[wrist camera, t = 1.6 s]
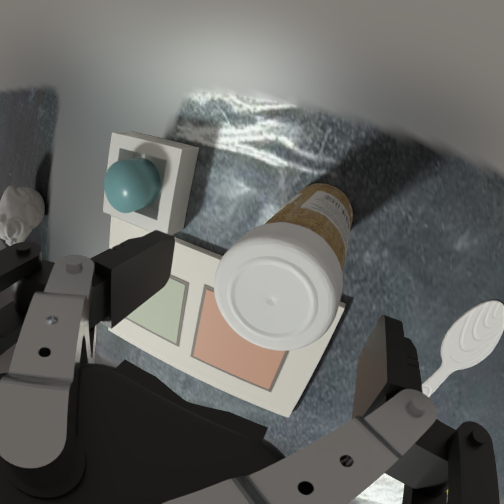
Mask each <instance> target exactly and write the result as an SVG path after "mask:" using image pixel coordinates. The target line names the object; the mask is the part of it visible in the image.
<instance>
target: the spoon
mask: <svg viewBox="0 0 504 504" xmlns="http://www.w3.org/2000/svg"><path fill="white" fill-rule="evenodd" d="M503 330H504V305H503V304H502V303H501V302H500V301H497V300H490V301H486V302H482V303H481V304H479V305H476V306H475V307H473V308H471V309H470V310H468V312H466V313H465V314H463V315H462V316H461V317H460V318H459V319H458V320H457V321H456V322H455V323H454V324H453V325H452V326H451V328H450V329H449V330H448V331H447V333H446V335H445V338H444V339H443V342H442V345H441V358H442V365H441V366H440V368H439V369H438V370H437V371H436V372H435V373H434V374H433V375H432V376H431V377H430V378H429V379H428V380H426V381H425V382H424V383H423V384H422V391H423V394H425V395H426V396H428V397H430V395H431V394H432V393H433V392H434V391H436V389H437V388H438V387H439V385H440V384H441V383H442V382H443V381H445V380H446V378H447V377H448V376H449V375H450V373H452V372H454V371H457V370H462V369H465V368H470V367H472V366H474V365H476V364H478V363H479V362H481V361H482V360H484V359H485V357H487V356H488V355H489V354H490V353H491V352H492V351H493V348H495V346H496V345H497V342H498V341H499V340H500V337H501V335H502V333H503Z"/></svg>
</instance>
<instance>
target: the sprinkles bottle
mask: <svg viewBox="0 0 504 504" xmlns="http://www.w3.org/2000/svg"><path fill="white" fill-rule="evenodd" d="M352 221H353V210H352V207H351V204H350V202H349V200H348V198H347V196H346V195H345V194H344V193H343V192H342V191H341V190H339V189H338V188H336V187H334V186H331V185H329V184H322V183H316V184H312V185H310V186H307V187H305V188H304V189H303V190H301V191H300V192H299V193H298V194H297V195H296V196H295V197H294V198H292V199H291V200H290V201H288V202H287V203H286V204H285V205H284V206H283V207H282V208H281V209H280V210H279V211H278V212H277V213H276V214H275V215H274V216H273V217H272V218H271V219H269V220H268V221H267V222H266V223H265V224H264V225H261V226H258V227H256V228H254V229H252V230H251V231H249V232H248V233H246V234H245V235H244V236H243V237H241V238H240V239H239V240H238V241H237V242H236V243H235V244H234V245H233V246H232V247H231V248H230V249H229V250H228V251H227V252H226V253H225V254H224V255H223V257H222V259H221V260H220V262H219V264H218V267H217V270H216V273H215V279H214V293H215V298H216V302H217V305H218V308H219V310H220V312H221V314H222V316H223V317H224V319H225V320H226V322H227V323H228V324H229V326H230V327H231V328H232V329H233V330H234V331H235V332H236V333H237V334H239V335H240V336H241V337H243V338H244V339H246V340H247V341H249V342H251V343H253V344H255V345H258V346H260V347H263V348H267V349H271V350H278V351H289V350H295V349H300V348H303V347H306V346H308V345H310V344H312V343H314V342H315V341H317V340H318V339H320V338H321V337H322V336H323V335H324V334H325V333H326V332H327V331H328V329H329V328H330V326H331V325H332V323H333V321H334V319H335V317H336V314H337V311H338V307H339V303H340V299H341V294H342V288H343V275H342V269H343V267H344V264H345V259H346V254H347V248H348V242H349V235H350V228H351V225H352Z"/></svg>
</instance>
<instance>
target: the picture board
mask: <svg viewBox="0 0 504 504" xmlns="http://www.w3.org/2000/svg"><path fill="white" fill-rule="evenodd" d="M150 232H151V231H148V230H146V229H143V228H141V227H139V226H136V225H134V224H131V223H129V222H127V221H124V220H122V219H119V218H117V217H114V216H111V229H110V245H109V249H110V248H111V249H112V247H114V246H116V245H120V243H122V242H124V241H126V240H128V239H132V238H137V237H142V236H144V235H146V234H148V233H150ZM174 238H175V247H174V254H173V261H172V268H171V274H170V278H169V280H168V282H167V284H166V285H165V286H164V287H163V288H162V289H161V290H160V291H158V292H157V293H156V294H155V295H153V296H152V297H151V298H149V299H148V300H147V301H146V302H144V303H143V304H142V305H141V306H139V307H138V308H137V309H136V310H134V311H133V312H132V313H131V314H129V315H128V316H127V317H126V318H124V319H123V320H122V321H121V322H119V323H118V324H117V325H116V326H114V327H113V328H112V329H111V328H109V327H108V330H109V331H111V332H113V333H114V334H116V335H118V336H119V337H121V338H123V339H124V340H126V341H128V342H129V343H131V344H133V345H135V346H136V347H138V348H140V349H142V350H144V351H145V352H147V353H149V354H151V355H153V356H154V357H156V358H158V359H160V360H162V361H164V362H166V363H167V364H169V365H171V366H173V367H175V368H177V369H179V370H181V371H183V372H185V373H187V374H189V375H191V376H193V377H195V378H197V379H199V380H201V381H203V382H205V383H207V384H210V385H212V386H214V387H216V388H218V389H220V390H223V391H225V392H227V393H229V394H231V395H234V396H236V397H238V398H241V399H243V400H245V401H248V402H250V403H252V404H255V405H257V406H259V407H262V408H264V409H267V410H269V411H272V412H274V413H277V414H280V415H282V416H285V417H287V418H289V416H290V414H291V412H292V411H293V409H294V407H295V405H296V404H297V402H298V400H299V398H300V396H301V394H302V393H303V391H304V389H305V387H306V385H307V383H308V382H309V380H310V378H311V376H312V374H313V372H314V370H315V368H316V366H317V364H318V362H319V360H320V359H321V357H322V355H323V353H324V351H325V349H326V347H327V345H328V343H329V341H330V338H331V336H332V334H333V332H334V330H335V328H336V326H337V324H338V322H339V320H340V318H341V315H342V313H343V311H344V309H345V304H346V303H343V302H340V303H339V307H338V311H337V314H336V317H335V319H334V321H333V323H332V325H331V326H330V328H329V329H328V331H327V332H326V333H325V334H324V335H323V336H322V337H321V338H320V339H318V340H317V341H315V342H314V343H312V344H310V345H308V346H306V347H303V348H300V349H295V350H289V351H278V350H271V349H267V348H263V347H260V346H258V345H255V344H253V343H251V342H249V341H247V340H246V339H244V338H243V337H241V336H240V335H239V334H237V333H236V332H235V331H234V330H233V329H232V328H231V327H230V326H229V324H228V323H227V322H226V320H225V319H224V317H223V316H222V314H221V312H220V310H219V308H218V305H217V302H216V298H215V293H214V279H215V273H216V270H217V267H218V264H219V262H220V260H221V259H222V257H223V256H221V255H219V254H216V253H214V252H211V251H209V250H206V249H204V248H201V247H199V246H196V245H194V244H191V243H189V242H186V241H184V240H181V239H179V238H176V237H174Z"/></svg>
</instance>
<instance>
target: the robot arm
mask: <svg viewBox="0 0 504 504" xmlns="http://www.w3.org/2000/svg"><path fill="white" fill-rule="evenodd" d="M174 247H175V238H174V236H172V235H169V234H166V233H164V232H161V231H159V230H154V231H152V232H150V233H148V234H146V235H144V236H142V237H137V238H132V239H128V240H126V241H124V242H122V243H120V245H116V246H114V247H112V249H111V248H110V249H108V250H106V251H104V252H102V253H100V254H98V255H96V256H94V257H92V258H91V259H89V258H87V257H85V256H81V255H68V256H64V257H61V258H60V259H58V260H57V261H56V262H55V263H54V262H50V261H46V260H43V259H42V254H41V247H40V246H39V245H38V244H36V243H33V242H19V243H16V244H13V245H11V246H9V247H7V248H5V249H3V250H1V251H0V292H1V291H3V290H5V289H6V288H8V287H10V286H11V289H12V295H13V301H12V302H11V303H9V304H8V305H6V306H5V307H3V308H2V309H1V310H0V355H1V354H3V353H4V352H5V351H6V350H8V349H9V348H10V347H11V346H13V345H14V344H15V343H17V345H16V348H15V351H14V355H13V358H12V362H11V365H10V369H9V372H8V373H1V374H0V504H348V503H349V502H350V501H351V500H353V499H354V498H355V497H356V496H358V495H359V494H360V493H361V492H363V491H364V490H365V489H366V488H367V487H369V486H370V485H371V484H372V483H373V482H374V481H376V480H377V479H378V478H379V477H380V476H381V475H382V474H383V473H386V474H388V475H389V476H391V477H393V478H395V479H397V480H399V481H400V482H402V483H404V484H405V485H404V494H403V502H402V504H446V502H447V490H448V502H447V504H500V503H499V490H498V480H497V471H496V463H495V456H494V450H493V443H492V439H491V437H490V435H489V433H488V432H487V431H486V430H485V429H484V428H483V427H482V426H481V425H479V424H477V423H475V422H471V421H468V422H464V423H463V424H461V425H460V426H459V427H458V429H457V430H455V429H453V428H451V427H449V426H447V425H446V424H444V423H442V422H440V421H439V420H437V419H436V418H437V410H436V407H435V405H434V403H433V402H432V400H431V399H430V398H429V397H428V396H426V395H425V394H423V391H422V383H421V376H420V369H419V363H418V361H417V360H418V356H417V350H416V348H415V346H414V345H413V343H412V341H411V340H410V339H409V338H406V337H404V331H403V324H402V321H399V320H396V319H393V318H391V317H388V316H385V315H382V316H381V317H380V319H379V320H378V322H377V324H376V326H375V328H374V330H373V332H372V334H371V336H370V337H369V339H368V341H367V343H366V345H365V347H364V349H363V351H362V353H361V355H360V358H359V362H358V369H357V379H356V389H355V397H354V406H353V413H352V419H351V420H350V421H348V422H347V423H345V424H343V425H342V426H340V427H339V428H337V429H335V430H334V431H332V432H330V433H329V434H327V435H325V436H324V437H322V438H320V439H319V440H317V441H315V442H313V443H312V444H310V445H308V446H306V447H305V448H303V449H301V450H299V451H297V452H295V453H294V454H292V455H290V456H288V457H285V456H284V455H283V454H282V453H281V452H280V451H279V450H278V449H277V448H276V447H275V446H274V445H272V444H271V443H270V442H268V441H267V440H265V439H264V436H265V433H266V431H267V428H268V427H265V426H262V425H260V424H257V423H255V422H252V421H250V420H247V419H245V418H242V417H240V416H237V415H235V414H233V413H230V412H226V411H222V410H217V409H213V408H209V407H204V406H200V405H196V404H192V403H189V402H187V401H185V400H183V399H182V398H181V397H180V396H178V395H177V394H176V393H175V392H173V391H172V390H171V389H170V388H169V387H167V386H166V385H165V384H164V383H163V382H161V381H160V380H159V379H158V378H157V377H155V376H153V375H152V374H150V373H148V372H146V371H144V370H142V369H141V368H139V367H137V366H135V365H133V364H132V363H130V362H128V361H126V360H124V361H123V362H122V363H121V364H120V365H119V366H118V367H117V368H116V367H112V366H108V365H103V364H94V354H95V341H96V325H97V324H98V323H99V322H101V323H102V324H104V325H106V326H107V327H109V328H111V329H112V328H113V327H114V326H116V325H117V324H118V323H119V322H121V321H122V320H123V319H124V318H126V317H127V316H128V315H129V314H131V313H132V312H133V311H134V310H136V309H137V308H138V307H139V306H141V305H142V304H143V303H144V302H146V301H147V300H148V299H149V298H151V297H152V296H153V295H155V294H156V293H157V292H158V291H160V290H161V289H162V288H163V287H164V286H165V285H166V284H167V282H168V280H169V278H170V274H171V268H172V261H173V254H174Z"/></svg>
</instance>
